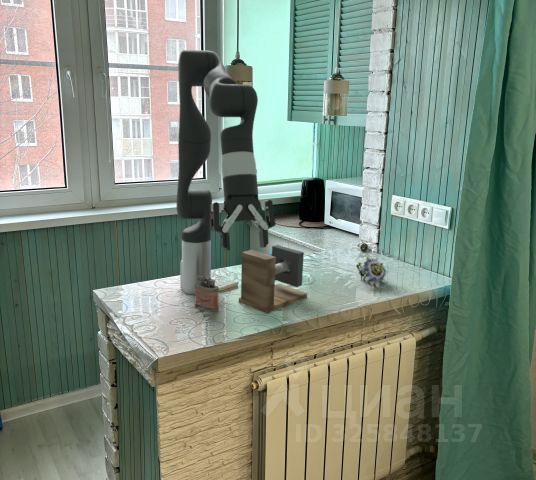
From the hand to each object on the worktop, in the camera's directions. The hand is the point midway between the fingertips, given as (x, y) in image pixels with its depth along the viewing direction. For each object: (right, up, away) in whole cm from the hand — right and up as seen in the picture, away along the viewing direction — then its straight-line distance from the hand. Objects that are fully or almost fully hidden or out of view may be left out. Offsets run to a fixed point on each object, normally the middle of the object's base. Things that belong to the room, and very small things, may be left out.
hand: (245, 249), depth 115 cm
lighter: (-13, -19, +42) cm, 48 cm away
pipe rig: (+7, -17, +51) cm, 54 cm away
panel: (+11, -12, +54) cm, 56 cm away
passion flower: (+40, -14, +69) cm, 81 cm away
